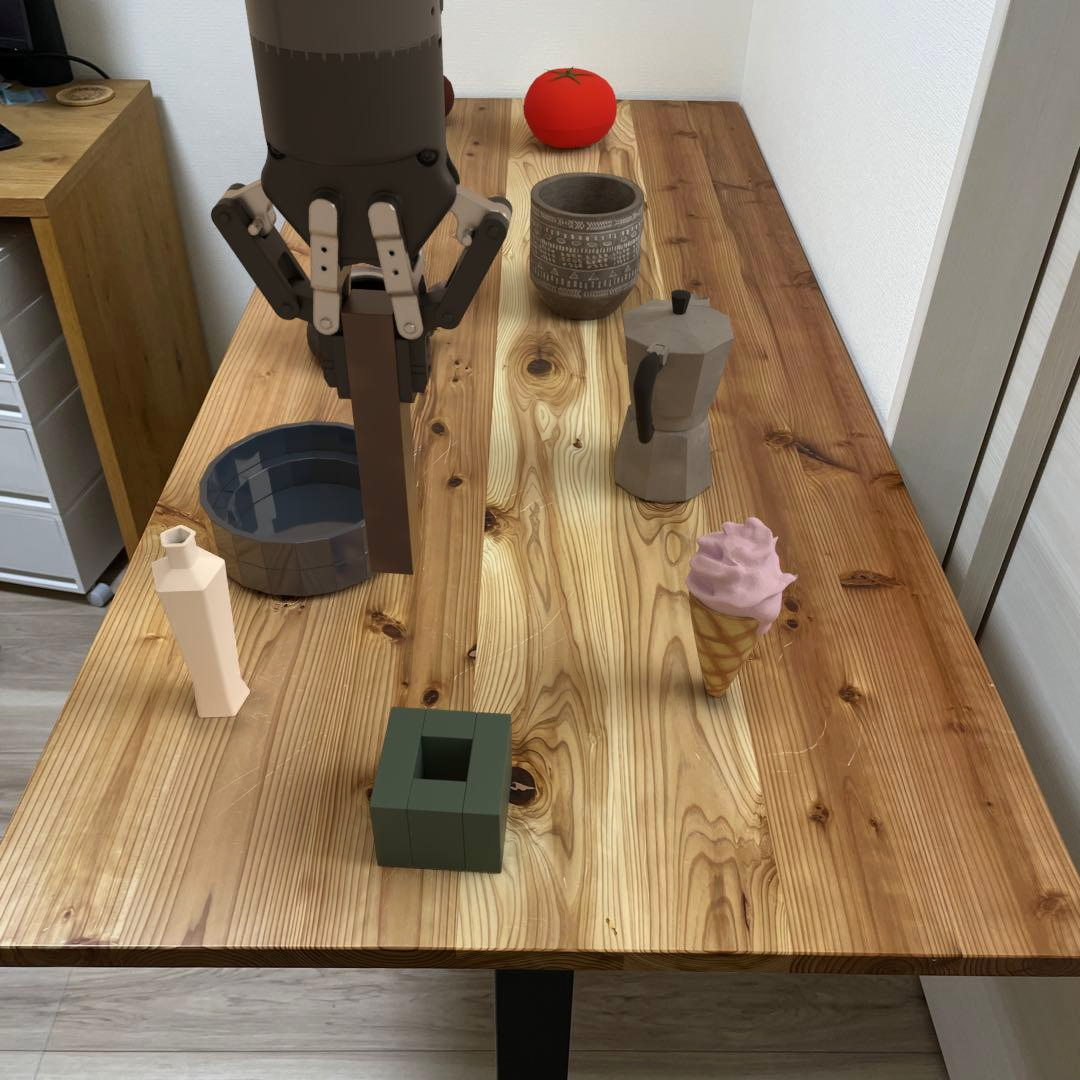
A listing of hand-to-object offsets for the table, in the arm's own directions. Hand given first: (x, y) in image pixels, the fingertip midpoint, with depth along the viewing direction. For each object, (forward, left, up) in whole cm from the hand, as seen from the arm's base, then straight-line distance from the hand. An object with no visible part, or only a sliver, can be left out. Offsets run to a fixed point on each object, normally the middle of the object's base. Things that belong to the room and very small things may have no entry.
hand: (380, 391), depth 53 cm
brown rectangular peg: (0, 0, -11) cm, 11 cm away
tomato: (+5, +116, -29) cm, 119 cm away
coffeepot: (+17, +33, -29) cm, 47 cm away
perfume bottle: (-14, +4, -29) cm, 33 cm away
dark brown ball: (-17, +123, -29) cm, 127 cm away
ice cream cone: (+21, +8, -29) cm, 36 cm away
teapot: (-12, +57, -29) cm, 65 cm away
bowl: (-12, +23, -29) cm, 39 cm away
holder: (+3, -4, -29) cm, 29 cm away
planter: (+9, +66, -29) cm, 72 cm away
